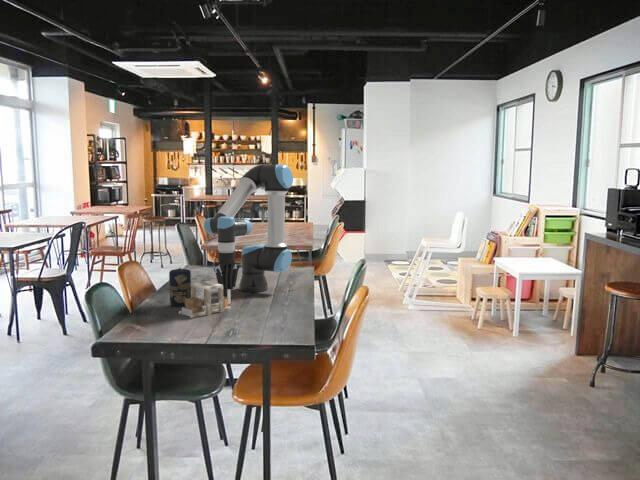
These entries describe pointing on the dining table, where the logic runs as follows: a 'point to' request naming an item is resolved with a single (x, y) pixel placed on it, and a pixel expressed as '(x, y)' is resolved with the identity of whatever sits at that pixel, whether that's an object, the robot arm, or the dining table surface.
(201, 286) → the cream wooden rail frame
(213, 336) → the dining table surface
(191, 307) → the block
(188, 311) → the orange and grey bar
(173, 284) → the canister
